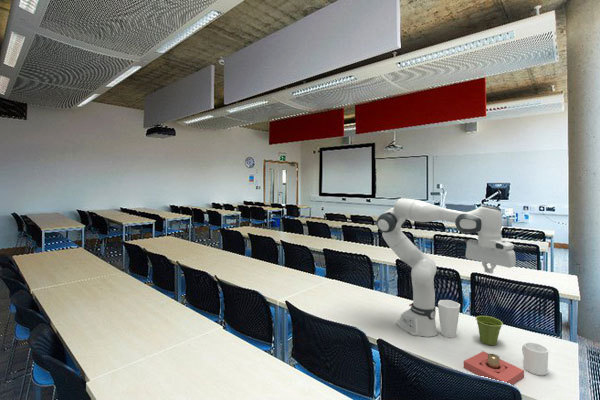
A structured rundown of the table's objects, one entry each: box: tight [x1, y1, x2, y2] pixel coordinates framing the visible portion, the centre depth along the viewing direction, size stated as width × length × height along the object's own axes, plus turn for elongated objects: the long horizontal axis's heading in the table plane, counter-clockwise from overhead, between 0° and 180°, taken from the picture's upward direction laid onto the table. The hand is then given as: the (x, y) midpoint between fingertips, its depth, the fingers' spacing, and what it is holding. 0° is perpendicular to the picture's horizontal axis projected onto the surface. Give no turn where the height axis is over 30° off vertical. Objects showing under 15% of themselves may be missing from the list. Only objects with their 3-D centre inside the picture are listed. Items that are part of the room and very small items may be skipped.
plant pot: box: [475, 315, 504, 346], centre depth 157 cm, size 12×12×11 cm
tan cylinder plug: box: [488, 353, 500, 369], centre depth 133 cm, size 4×4×7 cm
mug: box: [521, 342, 549, 376], centre depth 136 cm, size 12×8×10 cm
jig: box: [463, 351, 525, 386], centre depth 133 cm, size 17×15×3 cm
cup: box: [437, 299, 461, 339], centre depth 165 cm, size 11×10×17 cm
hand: (488, 272), depth 139 cm, fingers closed
